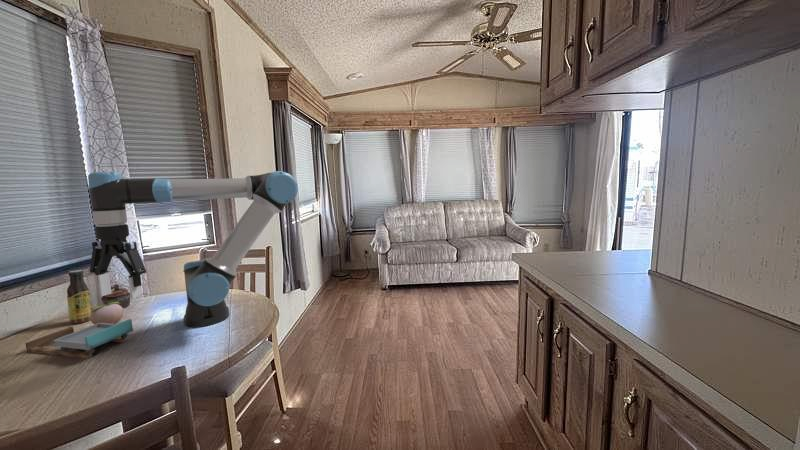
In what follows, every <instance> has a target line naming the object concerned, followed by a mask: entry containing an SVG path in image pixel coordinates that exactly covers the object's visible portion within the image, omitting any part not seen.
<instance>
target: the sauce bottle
mask: <svg viewBox="0 0 800 450" xmlns="http://www.w3.org/2000/svg"><path fill="white" fill-rule="evenodd" d="M84 273H85V272H84V270H83V269H76V270H70V271H68V276H69V283H70V284H69V285H68V287H67V289H66V294H67V296H66V297H67V298H66V299H67V307H68V316H69V321H70V324H71V325H72V324H73V325H76V324H81V323H85V322H89V321H91V320H90V315H91V313H92V312H91V311H92V303H91V295H90V293H91V292H90V289H89V287H88V285H87V284H86V282H85V279H84ZM90 312H91V313H90Z"/></svg>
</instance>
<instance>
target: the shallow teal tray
mask: <svg viewBox="0 0 800 450" xmlns="http://www.w3.org/2000/svg"><path fill="white" fill-rule="evenodd" d="M133 331H134V328H133V322H132V319H131V318H128V319H125V320H124V321H121V322H117V323H116V324H110V323H97V324H93V325H89V326H87V327H84V328H81V329H79V330H77V331H74V332H73V333H71V334H68V335H65V336H63V337H60V338H58V339H55V340H53V344H52V345H53V347H58V348H59V347H60V350H62V351H66V350H69V349H75V350H76V349H77V350H85V352H86V353H87V354H91V353H92V354H93V353H94V352H95V348H96V347H99V346H102V345H103V344H106V343H108V342H109V341H111V340H113V339H115V338H117V337H121V338H122V339H124V338H126V339H127V338H128V337H129V335H128V333H130V332H133Z"/></svg>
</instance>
